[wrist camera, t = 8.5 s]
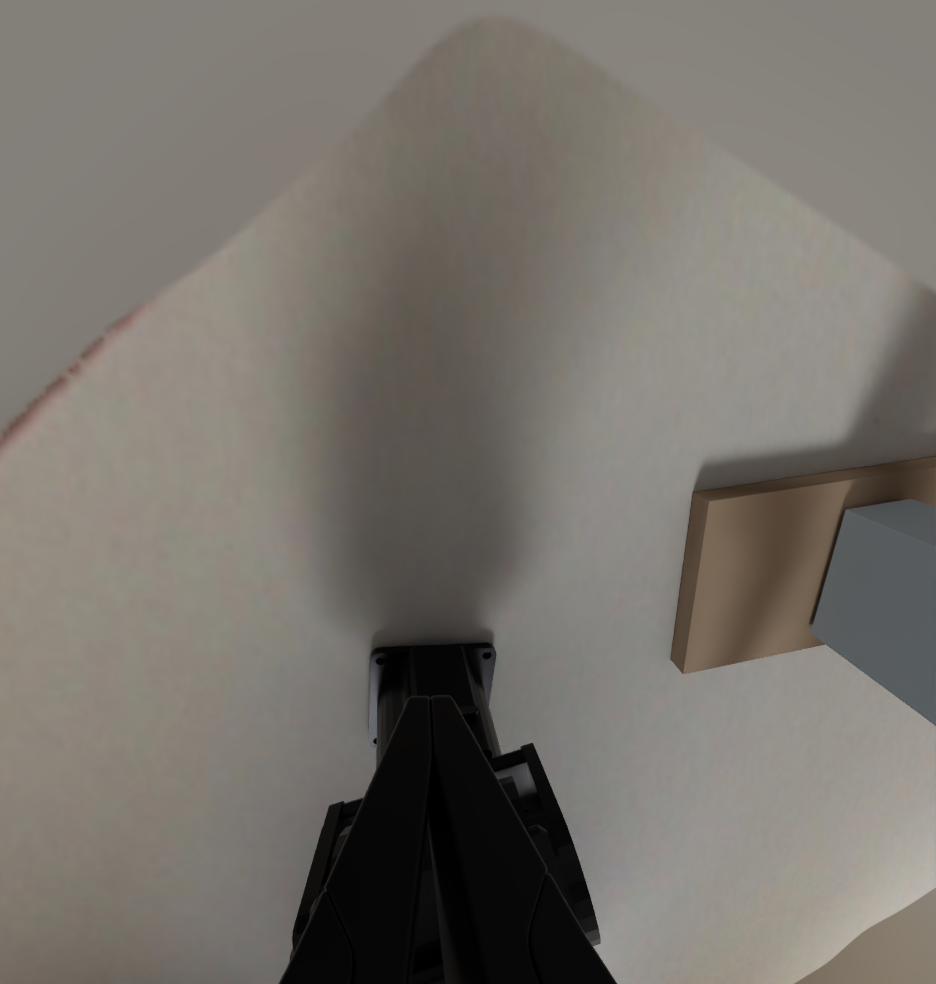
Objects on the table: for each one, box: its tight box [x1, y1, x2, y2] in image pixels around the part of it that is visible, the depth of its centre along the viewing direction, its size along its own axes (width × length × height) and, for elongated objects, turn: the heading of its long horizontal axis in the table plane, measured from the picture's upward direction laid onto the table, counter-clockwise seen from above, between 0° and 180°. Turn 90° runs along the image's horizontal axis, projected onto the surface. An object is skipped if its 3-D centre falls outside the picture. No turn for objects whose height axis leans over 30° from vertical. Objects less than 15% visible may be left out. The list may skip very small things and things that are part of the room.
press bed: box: [671, 456, 936, 674], centre depth 22 cm, size 20×11×7 cm, turn 94°
